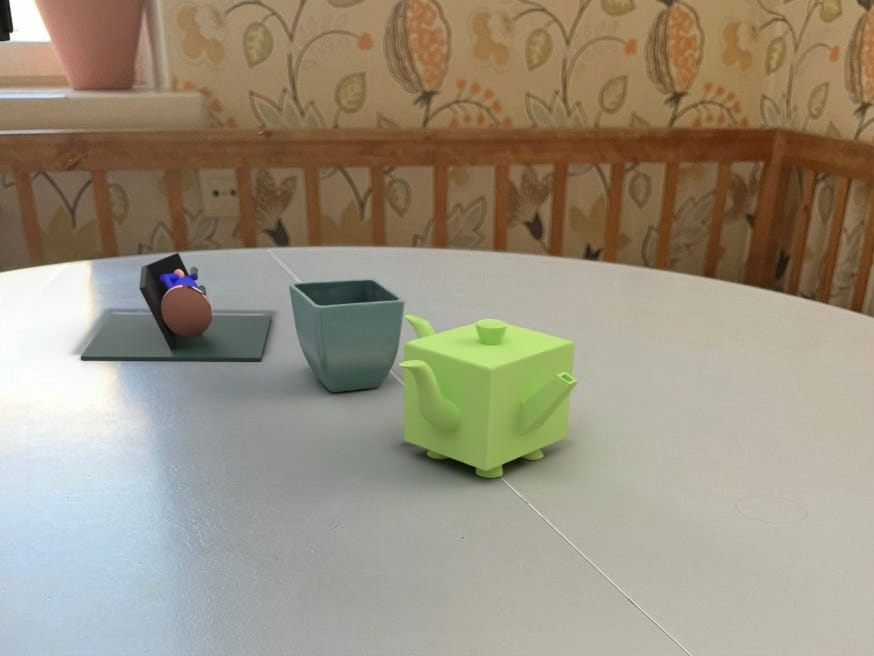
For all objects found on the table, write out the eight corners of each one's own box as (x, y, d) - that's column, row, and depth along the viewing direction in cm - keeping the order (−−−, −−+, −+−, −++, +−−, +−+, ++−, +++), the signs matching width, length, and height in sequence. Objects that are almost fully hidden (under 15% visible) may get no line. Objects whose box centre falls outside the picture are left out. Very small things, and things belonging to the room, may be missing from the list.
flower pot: (406, 393, 101) (407, 298, 97) (319, 403, 98) (315, 306, 93) (374, 366, 108) (373, 276, 103) (292, 375, 105) (286, 282, 100)
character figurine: (212, 317, 121) (213, 358, 108) (146, 314, 119) (139, 355, 107) (210, 247, 116) (211, 281, 104) (142, 242, 115) (135, 276, 102)
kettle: (399, 489, 82) (399, 347, 76) (392, 425, 94) (391, 298, 88) (587, 487, 84) (600, 348, 78) (556, 425, 96) (566, 300, 90)
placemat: (81, 360, 106) (80, 356, 106) (111, 317, 120) (111, 313, 119) (261, 361, 108) (260, 357, 108) (271, 319, 121) (271, 315, 121)
